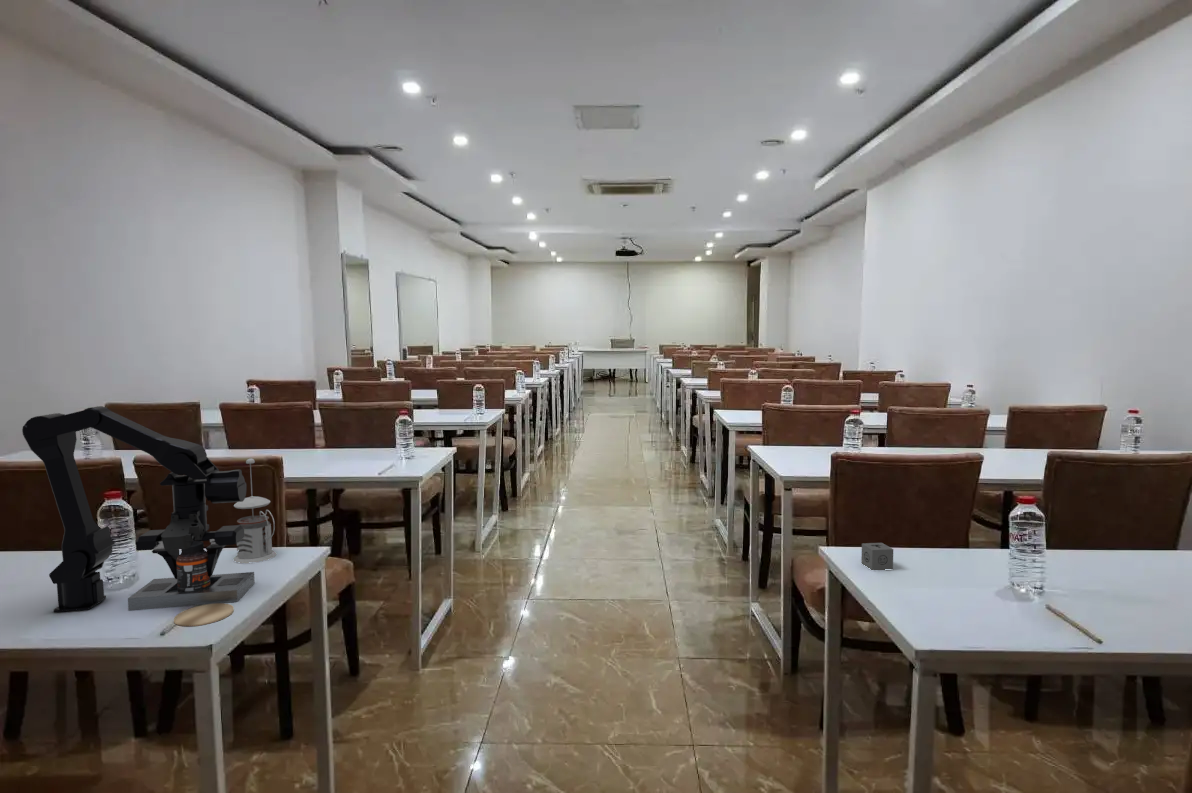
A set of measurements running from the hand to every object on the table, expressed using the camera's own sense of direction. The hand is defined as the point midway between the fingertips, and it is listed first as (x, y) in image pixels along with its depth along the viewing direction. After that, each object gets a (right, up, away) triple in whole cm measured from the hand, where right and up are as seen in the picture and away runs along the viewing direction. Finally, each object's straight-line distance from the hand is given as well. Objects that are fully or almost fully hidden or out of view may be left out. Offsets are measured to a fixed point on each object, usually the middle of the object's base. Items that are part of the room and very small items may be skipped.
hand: (193, 577), depth 136 cm
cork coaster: (+8, -5, -10) cm, 14 cm away
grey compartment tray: (0, -4, 0) cm, 4 cm away
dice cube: (+151, -2, +15) cm, 151 cm away
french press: (0, -2, +25) cm, 25 cm away
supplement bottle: (0, -4, 0) cm, 4 cm away
